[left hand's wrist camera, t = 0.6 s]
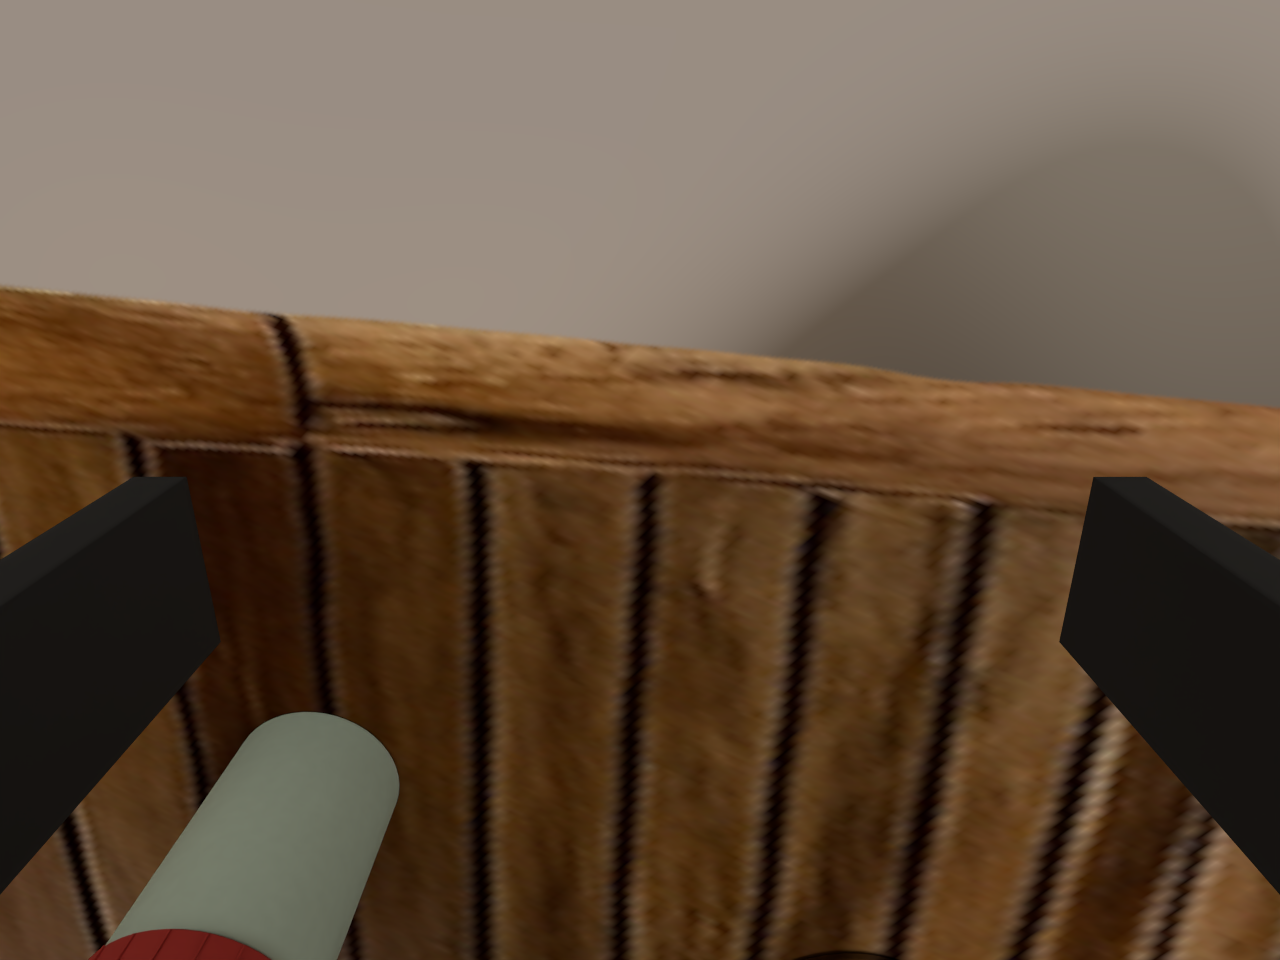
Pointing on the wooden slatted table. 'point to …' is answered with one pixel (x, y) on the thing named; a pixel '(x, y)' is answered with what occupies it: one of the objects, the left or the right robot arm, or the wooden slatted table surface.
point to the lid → (176, 947)
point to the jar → (279, 842)
